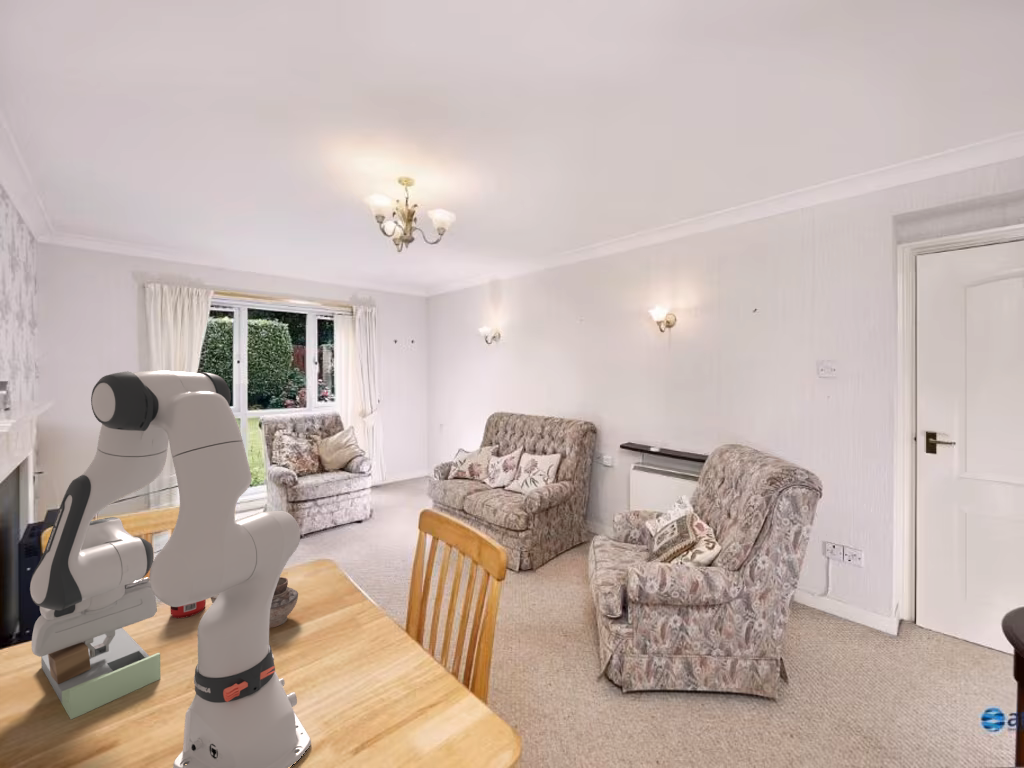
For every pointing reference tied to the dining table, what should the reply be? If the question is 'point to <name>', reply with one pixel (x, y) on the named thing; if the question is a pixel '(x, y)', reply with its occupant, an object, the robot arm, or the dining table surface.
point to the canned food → (188, 609)
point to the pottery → (279, 602)
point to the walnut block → (69, 662)
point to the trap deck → (106, 675)
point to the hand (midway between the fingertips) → (99, 653)
